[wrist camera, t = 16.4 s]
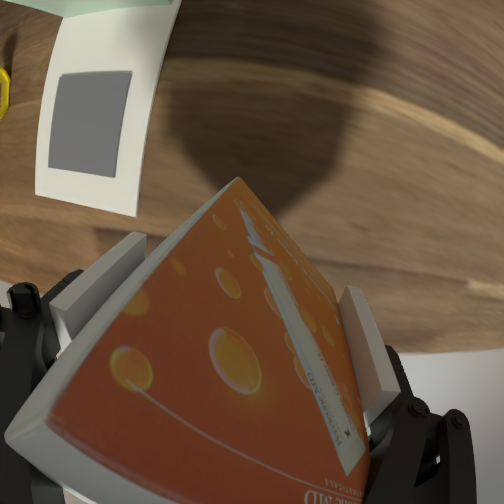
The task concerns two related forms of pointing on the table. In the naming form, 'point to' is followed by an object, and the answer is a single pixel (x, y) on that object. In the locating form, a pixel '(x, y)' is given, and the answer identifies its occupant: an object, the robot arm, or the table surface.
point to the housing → (86, 5)
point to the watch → (4, 91)
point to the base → (101, 105)
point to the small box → (206, 377)
